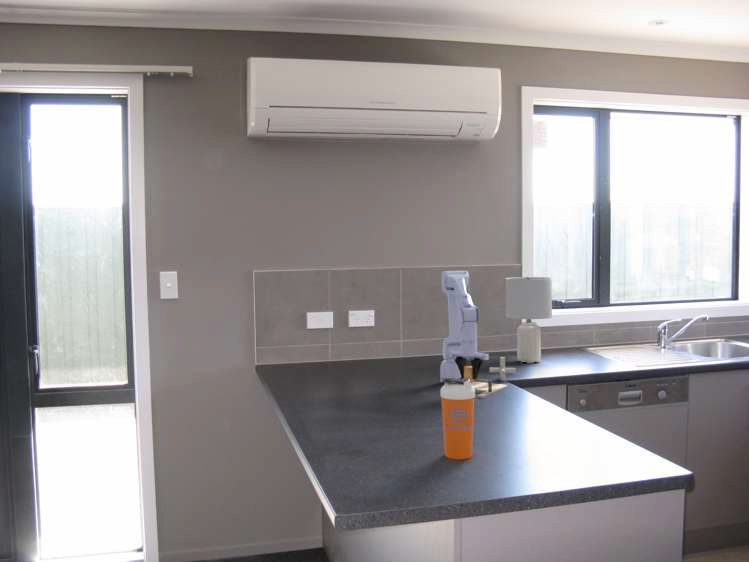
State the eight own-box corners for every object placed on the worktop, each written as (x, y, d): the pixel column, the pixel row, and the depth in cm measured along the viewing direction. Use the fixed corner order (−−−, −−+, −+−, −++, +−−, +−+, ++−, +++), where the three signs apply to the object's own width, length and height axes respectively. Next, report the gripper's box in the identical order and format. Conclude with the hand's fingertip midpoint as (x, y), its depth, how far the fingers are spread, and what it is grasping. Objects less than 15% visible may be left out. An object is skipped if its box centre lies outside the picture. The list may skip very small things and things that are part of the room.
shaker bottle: (438, 451, 186) (437, 376, 185) (471, 449, 187) (470, 375, 185) (444, 461, 177) (443, 383, 176) (479, 460, 178) (478, 381, 177)
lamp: (501, 359, 329) (500, 276, 327) (542, 357, 331) (542, 275, 329) (514, 366, 309) (513, 278, 307) (558, 364, 311) (558, 277, 309)
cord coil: (461, 381, 251) (461, 367, 251) (466, 379, 254) (466, 365, 254) (472, 382, 249) (472, 368, 249) (476, 380, 252) (476, 366, 252)
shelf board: (448, 395, 253) (447, 381, 253) (475, 384, 271) (474, 371, 271) (483, 399, 245) (483, 384, 245) (508, 388, 264) (508, 374, 263)
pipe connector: (515, 385, 268) (515, 359, 267) (489, 385, 270) (489, 359, 269) (515, 380, 277) (515, 355, 277) (490, 380, 279) (490, 355, 279)
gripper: (445, 340, 251) (445, 378, 252) (482, 343, 243) (482, 382, 244) (454, 338, 257) (455, 375, 258) (491, 340, 249) (491, 378, 250)
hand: (469, 378), depth 251 cm, fingers closed on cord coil, 4 cm apart
